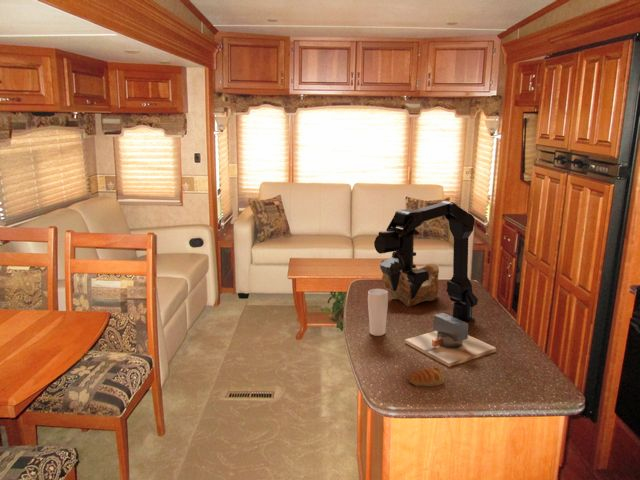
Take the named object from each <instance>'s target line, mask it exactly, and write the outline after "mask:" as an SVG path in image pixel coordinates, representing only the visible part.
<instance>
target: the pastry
mask: <svg viewBox="0 0 640 480" xmlns="http://www.w3.org/2000/svg"><path fill="white" fill-rule="evenodd" d="M444 377H445V376H444V374H443V371H442V370H441V368H440V367H438V366H435V365H434V366H432V367H422V368H421V369H419V370H418V371H415V372H413V373H412V374H410V375H409V379H408V381H409V382H410V384H411V385H414V386H415V387H431V386H432V387H433V386H440V385H443V384H444V383H445V378H444Z"/></svg>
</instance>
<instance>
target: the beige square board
mask: <svg viewBox="0 0 640 480" xmlns="http://www.w3.org/2000/svg"><path fill="white" fill-rule="evenodd" d="M437 332H438V331H436V330H434V331H430V332H427V333H423V334H420V335H417V336H412V337H408V338H406V339H404V344H406V345H408V346H409V347H412V348H414V349H416V350H417V351H419V352H421V353H423V354H425V355H426V356H428V357H430V358H431V359H434V360H435V361H437V362H439V363H441V364H443V365H445V366H446V367H447V368H450V367H453V366H456V365H459V364H462V363H466V362H468V361H471V360H474V359H477V358H480V357H483V356H486V355H490V354H492V353H495V352H496V351H497V348H496V347H495V346H493V345H491V344H489V343H487V342H484V341H482V340H480V339H478V338H475V337H474V336H472V335H469V334H468V339H465V340H463V345H462V346H461V347H458V348H446V347H443V346H440V345H439V346H436V347H434V346H432V340H433V339H436V338H437Z"/></svg>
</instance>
